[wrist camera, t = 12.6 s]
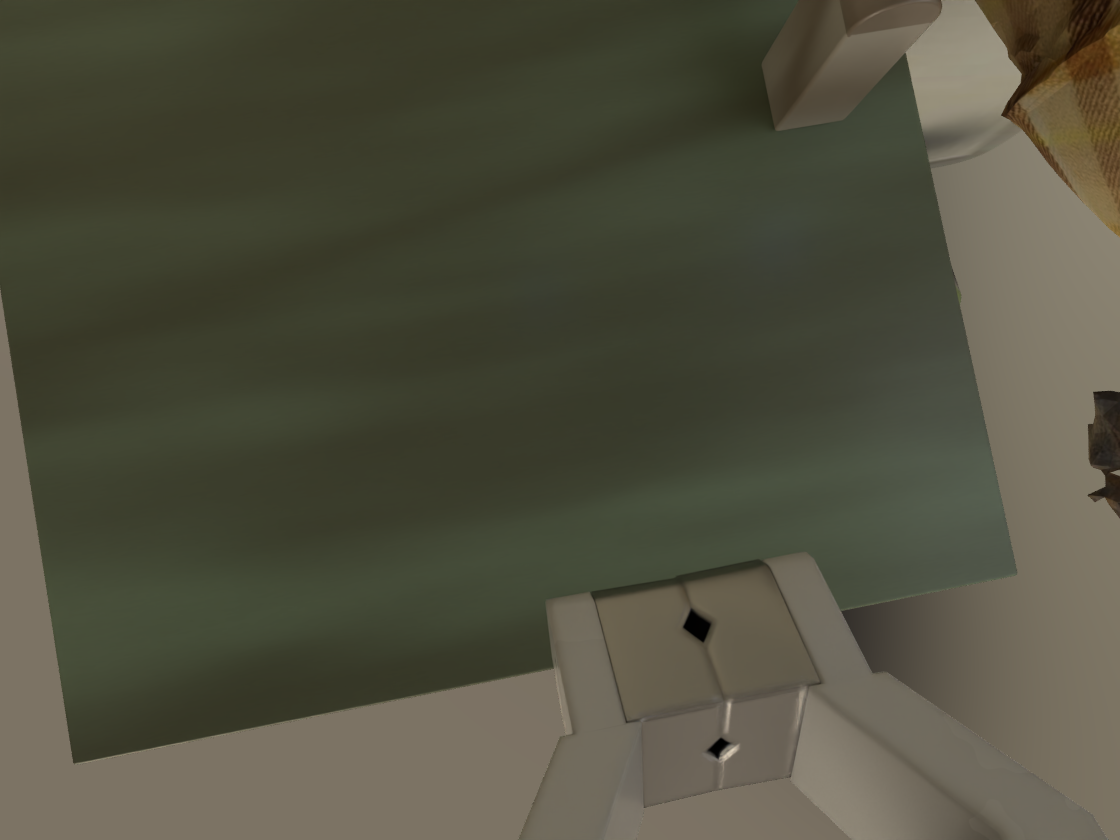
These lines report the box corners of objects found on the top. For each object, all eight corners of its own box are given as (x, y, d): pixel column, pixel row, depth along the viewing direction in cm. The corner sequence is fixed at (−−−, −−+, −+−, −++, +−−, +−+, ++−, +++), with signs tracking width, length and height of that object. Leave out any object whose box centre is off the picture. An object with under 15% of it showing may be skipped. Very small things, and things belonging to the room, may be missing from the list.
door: (-282, -394, 15) (-101, 877, 13) (941, -544, 16) (1202, 608, 15) (-43, -131, 21) (94, 751, 20) (819, -252, 22) (995, 571, 21)
